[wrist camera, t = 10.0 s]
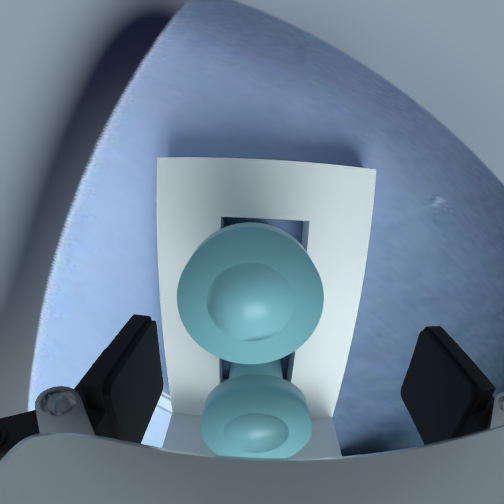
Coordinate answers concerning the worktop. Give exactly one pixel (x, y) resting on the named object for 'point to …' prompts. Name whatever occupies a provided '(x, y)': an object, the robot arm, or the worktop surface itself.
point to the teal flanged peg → (256, 414)
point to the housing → (313, 240)
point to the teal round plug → (250, 294)
